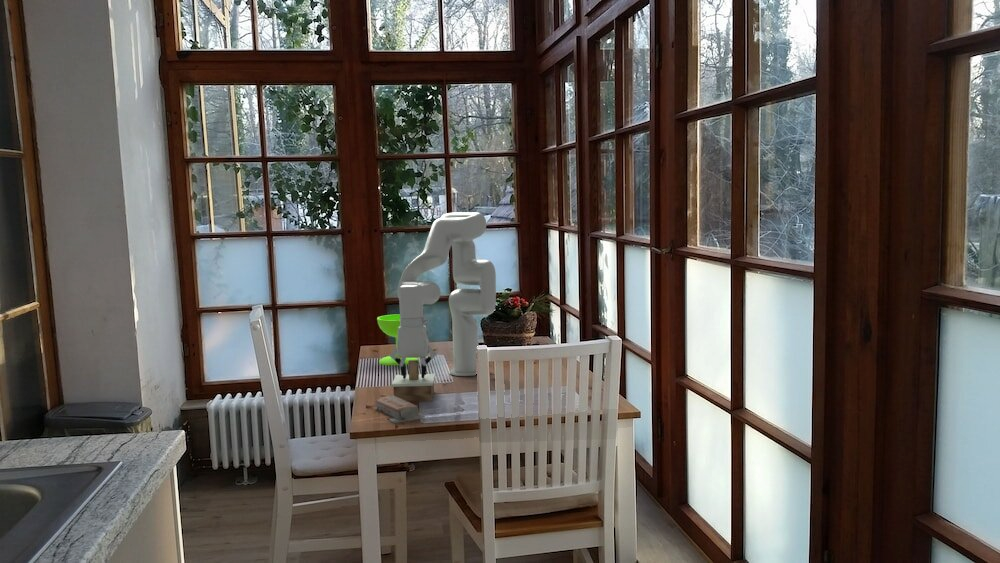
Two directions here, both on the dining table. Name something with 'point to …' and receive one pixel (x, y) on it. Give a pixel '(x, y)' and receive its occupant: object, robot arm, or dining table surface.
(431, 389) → the walnut box
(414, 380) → the lid
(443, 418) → the dining table surface
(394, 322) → the wineglass
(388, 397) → the packaged product
